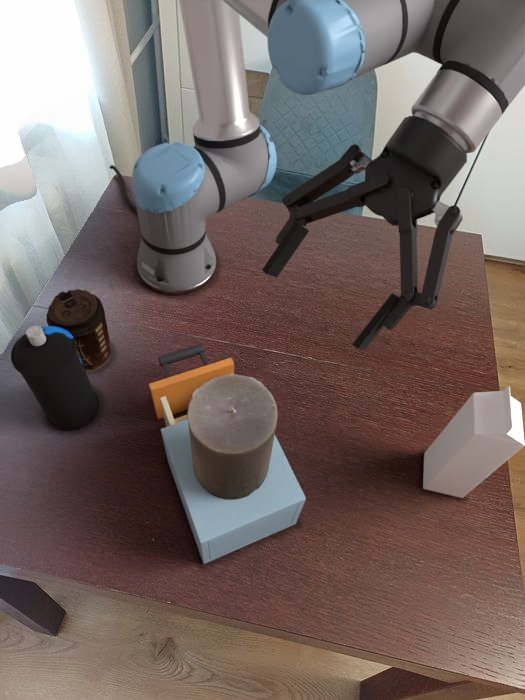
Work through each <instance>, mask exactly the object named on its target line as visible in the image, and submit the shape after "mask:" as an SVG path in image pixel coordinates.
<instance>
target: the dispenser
mask: <svg viewBox="0 0 525 700" xmlns="http://www.w3.org/2000/svg"><path fill="white" fill-rule="evenodd" d="M160 433H161V437H162V441H163V446H164V450H165V454H166V459H167V463H168V466H169V468H170V471H171V474H172V477H173V479H174V483H175V485H176V489H177V491H178V494H179V497H180V500H181V503H182V507H183V509H184V511H185V514H186V518H187V520H188V523H189V526H190V529H191V532H192V534H193V538H194V541H195V543H196V547H197V550H198V552H199V556H200V558H201V561H202V564H203V565H205V564H207V563H210V562H212V561H215V560H217V559H219V558H221V557H223V556H226V555H228V554H230V553H233V552H234V551H237V550H239V549H242V548H244V547H247V546H249V545H251V544H253V543H255V542H258V541H260V540H262V539H265V538H267V537H269V536H272V535H274V534H276V533H279V532H280V531H284V530H285V529H288V528H290V527H292V526H295V525H296V524H297V522H298V519H299V516H300V514H301V512H302V509H303V507H304V505H305V502H306V500H307V498H306V496H305V493H304V492H303V489H302V488H301V485H300V484H299V483H300V482H298V479H297V477H296V475H295V472H294V471H293V469H292V467H291V465H290V462H289V461H288V458H287V457H286V454H285V453H284V451H283V448H282V445H281V444H280V442H279V440H278V438H277V436H276V434H275V435H274V441H273V447H272V453H271V459H270V464H269V470H268V473H267V476H266V479H265V480H264V482H263V484H262V485H261V486H260V488H258V489H257V490H255V491H254V492H252V493H251V494H250V495H249V496H247V497H244V498H240V499H233V500H230V499H222V498H218V497H216V496H214V495H212V494H210V493H208V492H207V491H206V490H205V489H204V488H203V487H202V486H201V484H200V483H199V482H198V480H197V478H196V476H195V473H194V470H193V461H192V452H191V442H190V434H189V426H188V420H185V421H182V422H179V423H177V424H174V425H171V426H168V427H166V426H165V427H161V428H160Z"/></svg>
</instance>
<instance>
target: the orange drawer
mask: <svg viewBox="0 0 525 700" xmlns="http://www.w3.org/2000/svg"><path fill="white" fill-rule="evenodd" d="M196 356H200V359H201V361H202V363H203V365H204V366H201V367H197V368H194V369H191V370H187V371H184V372H182V373H177V374H175V375H172V374H171V371H170V370H169V367H168V365H171V364H174V363H177V362H181V361H184V360H187V359H190V358H194V357H196ZM157 357H158V362H159V365H160V367H162V368H163V371H164V374H165V376H166V378H163V379H159V380H157V381H154V382H150V383H148V386H149V390H150V394H151V398H152V403H153V408H154V411H155V415H156V418H157V420H160V419H164V424H165V427H168V426H171V425H174V424H177V423H179V422H182V421H185V420H188V418H187V414H185V415H182V416H179V417H176V418H174V416H173V415H176V414H178V413H181V412H185V411H188V407H189V403H190V401H191V398H192V394H193V392H194V391H195V390H196V389H197V388H200V387H201V386H202V385H203V384H204V383H206V382H208V381H209V380H211V379H213V378H217V377H219V376H223V375H233V374H235V362H234V359H233V358H232V357H228V358H226V359H222V360H219V361H215V362H213V363H210V364H209V361H208V359H207V357H206V355H205V348H204V345H203V343H198V344H195V345H192V346H189V347H186V348H182V349H178V350H175V351H173V352H168V353H166V354H163V355H159V356H157Z"/></svg>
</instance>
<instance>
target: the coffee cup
mask: <svg viewBox="0 0 525 700" xmlns="http://www.w3.org/2000/svg"><path fill="white" fill-rule="evenodd" d="M45 319H46V324H47V326H54V327H59V328H63V329H64V330H66V331H68V332H69V333H70V334H71V335H72V336H73V337H74V339H75V342H76V350H77V352H78V354H79V357H80V359H81V362H82V364H83V366H84V369H85V371H86V372H95V371H97V370H99V369H101V368H102V367H104V366H105V365H106V364H107V363H108V361H109V360H110V358H111V355H112V349H111V341H110V332H109V328H108V323H107V319H106V312H105V308H104V305H103V303H102V301H101V299H100V298H99V297H98V296H97V295H95V294H94V293H91V292H90V291H88V290H86V289H80V288H79V289H78V288H76V289H74V290H73V289H68V290H67V291H60V292H59V293H58V294H57V295H55V296H54V298H53V300H52V302H51V304H49V306H48V310H47V312H46V318H45Z"/></svg>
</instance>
